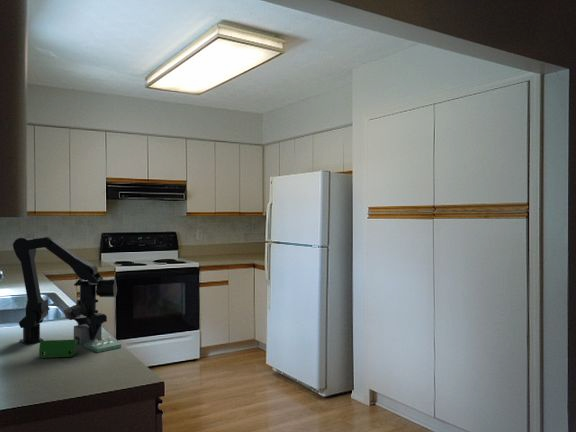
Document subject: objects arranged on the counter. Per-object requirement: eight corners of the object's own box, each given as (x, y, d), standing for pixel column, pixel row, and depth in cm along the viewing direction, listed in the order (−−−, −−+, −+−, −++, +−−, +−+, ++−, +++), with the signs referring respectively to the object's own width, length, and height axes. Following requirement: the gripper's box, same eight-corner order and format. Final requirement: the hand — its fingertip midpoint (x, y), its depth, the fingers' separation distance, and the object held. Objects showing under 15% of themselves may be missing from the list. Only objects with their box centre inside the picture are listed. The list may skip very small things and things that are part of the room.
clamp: (71, 366, 175) (83, 341, 177) (67, 367, 169) (79, 341, 171) (38, 353, 174) (51, 328, 176) (33, 354, 168) (46, 328, 170)
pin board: (84, 346, 183) (84, 338, 183) (107, 342, 189) (107, 333, 189) (97, 352, 176) (97, 343, 176) (121, 347, 183) (121, 338, 183)
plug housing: (73, 341, 189) (73, 326, 189) (93, 337, 195) (93, 322, 195) (81, 344, 185) (81, 328, 185) (101, 340, 191) (101, 325, 191)
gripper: (55, 296, 190) (55, 337, 191) (78, 303, 178) (78, 347, 178) (84, 292, 199) (83, 331, 199) (107, 299, 186) (107, 341, 187)
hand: (87, 337), depth 190 cm, fingers open, 7 cm apart
